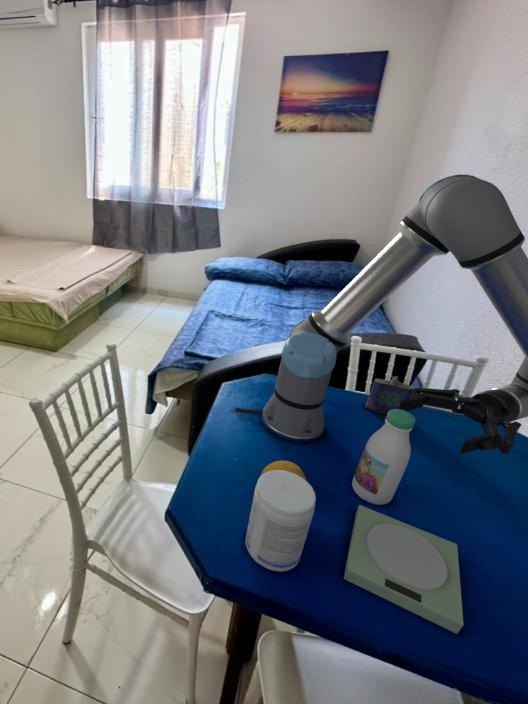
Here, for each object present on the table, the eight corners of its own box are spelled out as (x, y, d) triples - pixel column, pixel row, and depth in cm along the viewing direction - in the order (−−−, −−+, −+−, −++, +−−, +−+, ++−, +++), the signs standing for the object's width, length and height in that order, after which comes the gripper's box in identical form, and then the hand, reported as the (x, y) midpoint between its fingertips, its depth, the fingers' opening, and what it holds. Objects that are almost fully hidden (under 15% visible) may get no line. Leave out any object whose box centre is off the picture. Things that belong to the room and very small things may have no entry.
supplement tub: (310, 556, 72) (331, 497, 65) (274, 584, 67) (292, 524, 60) (268, 518, 79) (282, 461, 72) (233, 541, 74) (244, 482, 67)
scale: (343, 578, 68) (348, 566, 67) (355, 513, 80) (360, 501, 79) (457, 634, 61) (466, 622, 59) (451, 553, 73) (459, 541, 72)
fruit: (271, 516, 79) (279, 487, 75) (250, 485, 86) (256, 457, 82) (310, 507, 81) (319, 478, 78) (287, 478, 88) (294, 450, 84)
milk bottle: (382, 479, 89) (413, 404, 79) (398, 507, 82) (434, 430, 72) (345, 476, 89) (372, 401, 80) (358, 504, 82) (389, 426, 73)
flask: (365, 408, 112) (376, 375, 107) (364, 403, 114) (376, 370, 109) (403, 418, 108) (417, 384, 103) (401, 412, 111) (415, 379, 106)
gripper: (558, 456, 80) (487, 483, 73) (439, 390, 101) (374, 406, 94) (579, 426, 76) (505, 451, 70) (450, 363, 97) (384, 378, 90)
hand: (430, 425), depth 82 cm, fingers open, 13 cm apart
